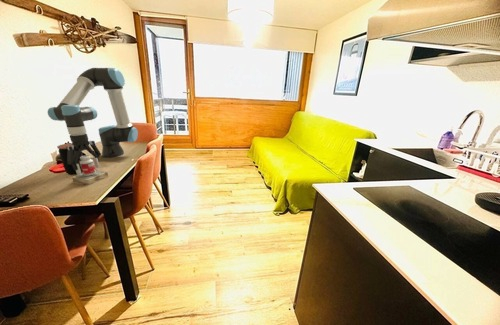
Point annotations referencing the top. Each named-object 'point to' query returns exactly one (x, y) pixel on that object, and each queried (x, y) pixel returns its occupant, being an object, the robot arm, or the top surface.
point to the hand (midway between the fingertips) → (89, 171)
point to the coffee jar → (63, 156)
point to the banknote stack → (90, 178)
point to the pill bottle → (87, 166)
